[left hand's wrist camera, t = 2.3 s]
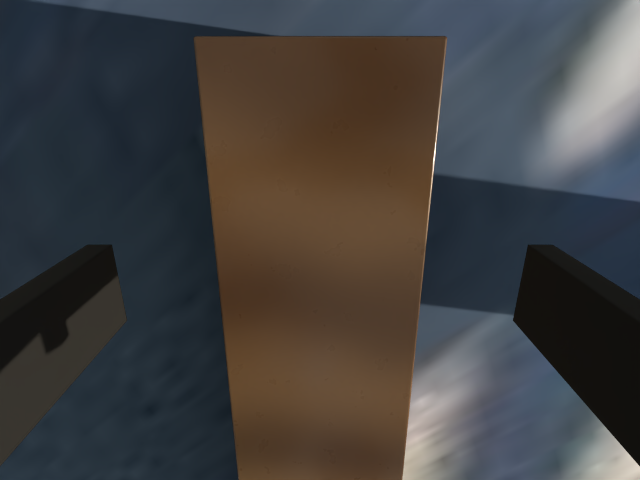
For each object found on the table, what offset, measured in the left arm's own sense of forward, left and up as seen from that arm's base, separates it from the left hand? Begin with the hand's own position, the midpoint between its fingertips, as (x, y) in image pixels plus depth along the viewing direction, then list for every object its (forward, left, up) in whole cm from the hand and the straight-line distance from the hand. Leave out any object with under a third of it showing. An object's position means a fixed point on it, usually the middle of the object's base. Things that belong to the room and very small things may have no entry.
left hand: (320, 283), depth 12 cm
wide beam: (+22, +24, -11) cm, 34 cm away
